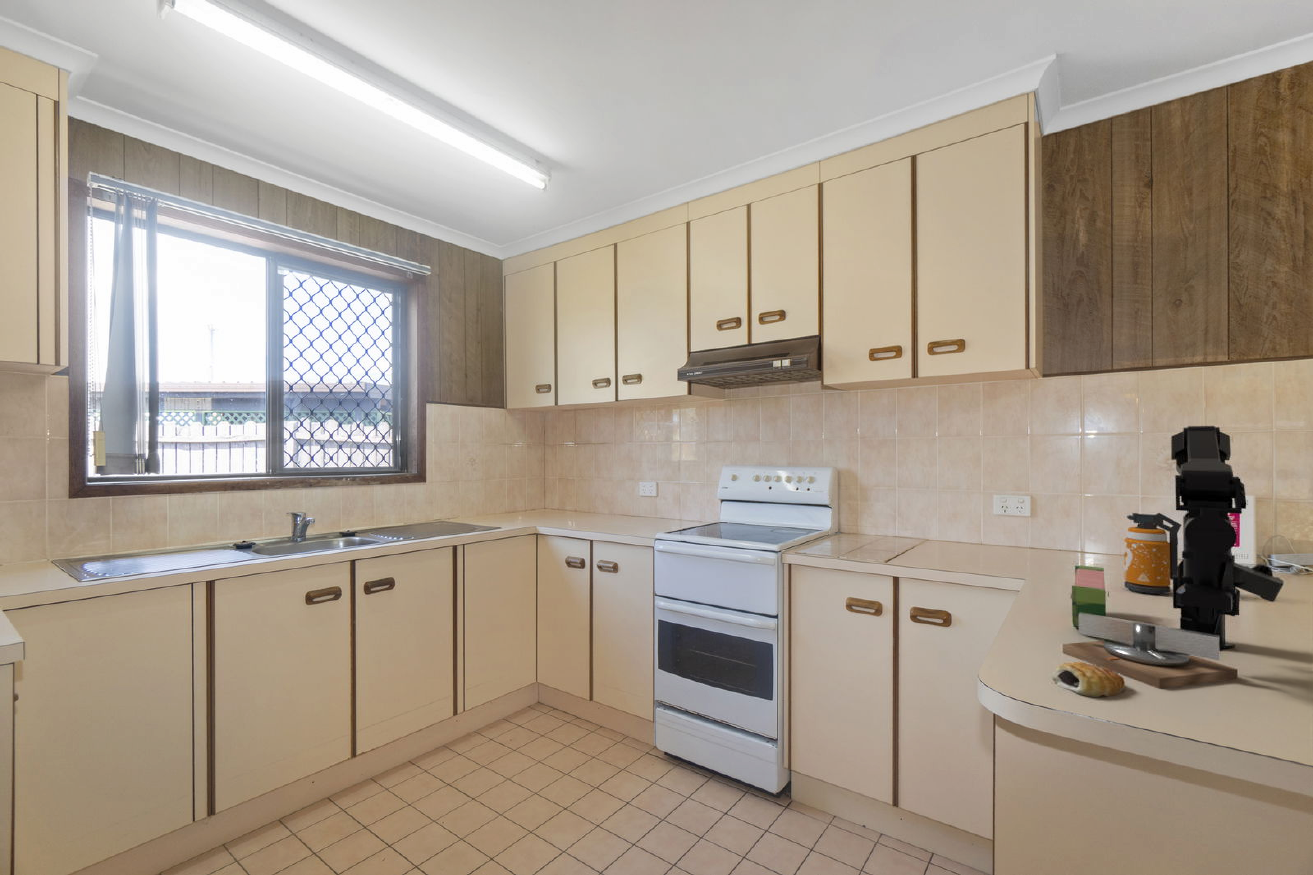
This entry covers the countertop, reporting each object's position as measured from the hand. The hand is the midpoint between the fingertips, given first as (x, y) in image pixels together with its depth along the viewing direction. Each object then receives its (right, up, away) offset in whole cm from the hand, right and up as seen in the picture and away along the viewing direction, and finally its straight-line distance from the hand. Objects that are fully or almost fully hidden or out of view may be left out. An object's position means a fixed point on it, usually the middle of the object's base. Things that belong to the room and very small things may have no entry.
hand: (1207, 643), depth 96 cm
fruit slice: (-1, -5, +25) cm, 26 cm away
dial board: (-8, -5, +3) cm, 10 cm away
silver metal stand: (-8, -3, +3) cm, 9 cm away
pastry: (-24, -5, -7) cm, 26 cm away
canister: (+36, -6, +54) cm, 65 cm away
